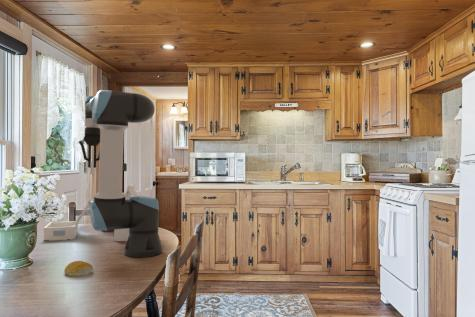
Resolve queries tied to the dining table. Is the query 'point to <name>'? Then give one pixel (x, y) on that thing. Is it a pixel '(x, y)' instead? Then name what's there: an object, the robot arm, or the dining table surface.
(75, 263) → the bread roll
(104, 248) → the dining table surface
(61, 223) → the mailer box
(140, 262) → the dining table surface
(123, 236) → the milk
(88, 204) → the lid
